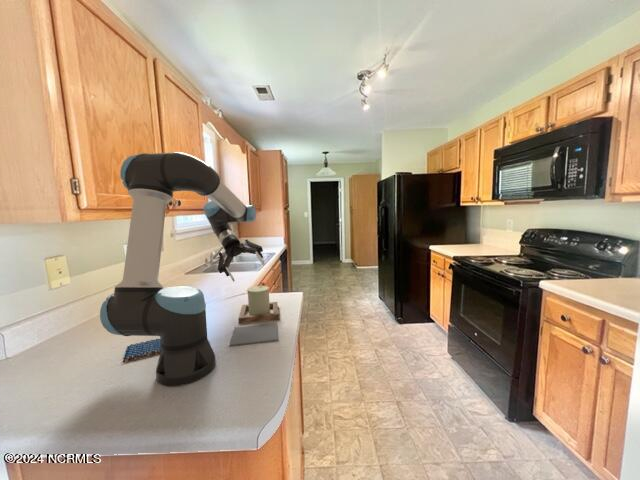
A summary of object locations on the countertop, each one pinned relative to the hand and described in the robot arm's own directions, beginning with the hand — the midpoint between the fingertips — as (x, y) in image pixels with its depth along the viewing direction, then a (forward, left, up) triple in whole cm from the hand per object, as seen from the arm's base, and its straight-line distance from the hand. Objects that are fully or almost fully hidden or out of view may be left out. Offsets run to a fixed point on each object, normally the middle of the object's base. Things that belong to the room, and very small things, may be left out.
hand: (248, 270), depth 110 cm
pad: (+2, -16, -20) cm, 26 cm away
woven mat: (-33, -19, -21) cm, 43 cm away
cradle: (+3, +4, -20) cm, 21 cm away
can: (+3, +4, -21) cm, 21 cm away
